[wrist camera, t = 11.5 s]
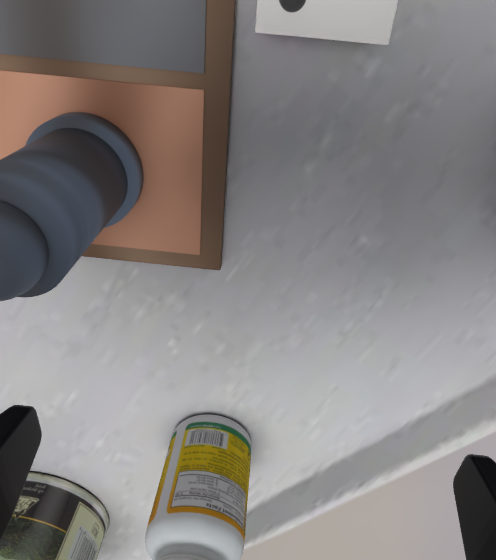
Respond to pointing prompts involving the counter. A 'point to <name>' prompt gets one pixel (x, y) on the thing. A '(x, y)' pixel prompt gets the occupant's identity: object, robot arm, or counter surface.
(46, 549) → the coffee can
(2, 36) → the game board
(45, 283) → the pawn
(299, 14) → the white die
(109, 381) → the counter surface
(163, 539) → the supplement bottle
